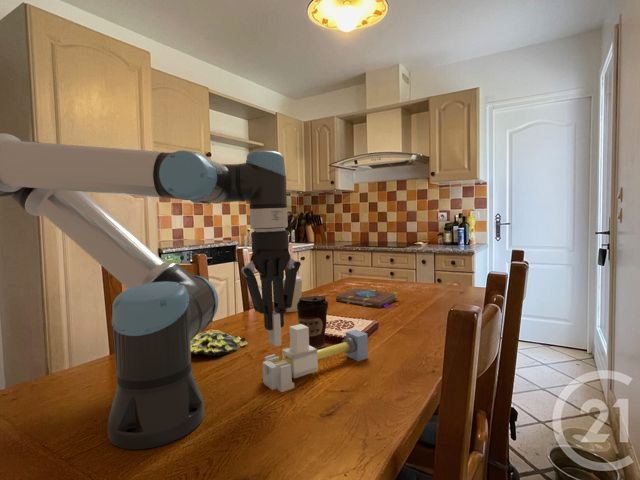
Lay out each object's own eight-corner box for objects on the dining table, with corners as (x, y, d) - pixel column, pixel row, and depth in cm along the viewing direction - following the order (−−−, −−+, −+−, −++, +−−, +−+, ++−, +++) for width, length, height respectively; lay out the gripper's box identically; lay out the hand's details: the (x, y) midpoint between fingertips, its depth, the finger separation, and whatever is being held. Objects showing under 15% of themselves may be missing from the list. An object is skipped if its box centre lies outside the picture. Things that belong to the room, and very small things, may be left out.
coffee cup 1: (307, 308, 137) (307, 276, 136) (293, 314, 129) (292, 280, 128) (288, 305, 142) (287, 274, 141) (272, 310, 134) (271, 278, 133)
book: (390, 314, 131) (389, 300, 130) (334, 304, 146) (334, 292, 145) (409, 302, 143) (409, 289, 143) (356, 294, 159) (356, 283, 158)
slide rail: (277, 393, 72) (275, 364, 71) (259, 379, 78) (257, 352, 78) (373, 360, 87) (372, 335, 86) (351, 350, 93) (350, 327, 93)
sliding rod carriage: (294, 378, 76) (292, 332, 75) (282, 370, 80) (281, 327, 79) (317, 370, 79) (316, 326, 79) (305, 363, 83) (304, 321, 82)
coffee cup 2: (325, 352, 93) (324, 302, 92) (294, 350, 94) (292, 301, 93) (331, 340, 101) (330, 294, 100) (302, 339, 103) (301, 293, 102)
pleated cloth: (156, 354, 98) (159, 329, 99) (207, 351, 111) (208, 329, 112) (203, 357, 86) (205, 329, 88) (253, 354, 99) (254, 329, 101)
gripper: (246, 232, 67) (253, 357, 68) (306, 228, 74) (311, 341, 76) (231, 231, 73) (238, 346, 75) (288, 228, 80) (293, 332, 82)
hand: (275, 343), depth 75 cm, fingers closed
